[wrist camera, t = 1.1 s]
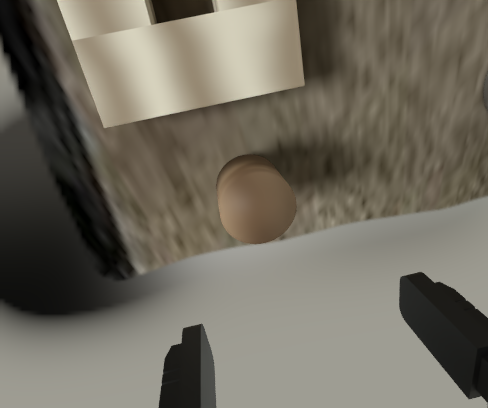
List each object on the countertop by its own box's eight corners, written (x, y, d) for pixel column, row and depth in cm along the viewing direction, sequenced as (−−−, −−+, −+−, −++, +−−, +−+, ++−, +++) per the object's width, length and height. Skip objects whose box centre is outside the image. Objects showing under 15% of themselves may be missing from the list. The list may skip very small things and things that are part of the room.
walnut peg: (264, 137, 29) (291, 165, 21) (272, 189, 32) (300, 234, 23) (208, 149, 29) (211, 182, 21) (220, 201, 31) (228, 251, 23)
